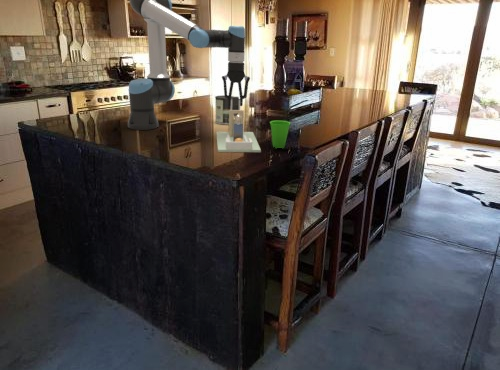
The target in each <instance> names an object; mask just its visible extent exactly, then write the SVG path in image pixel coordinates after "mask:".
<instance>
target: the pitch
mask: <svg viewBox="0 0 500 370" xmlns="http://www.w3.org/2000/svg"><path fill="white" fill-rule="evenodd" d="M234 113H238V115H241V117H242V120H241V121H240V124H243V125H244V119H245V118H244V115H245V114H244V113H245V112H244V110H243V109H240V110H229V124H228V131H216V132H215V133H216V145H217V146H216V147H217V153H262V150H261V147H260V145H259V142H258V141H257V138H256V136H255V133H254V131H243V142H233V129H234V124H236V121H235V117H234Z"/></svg>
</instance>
